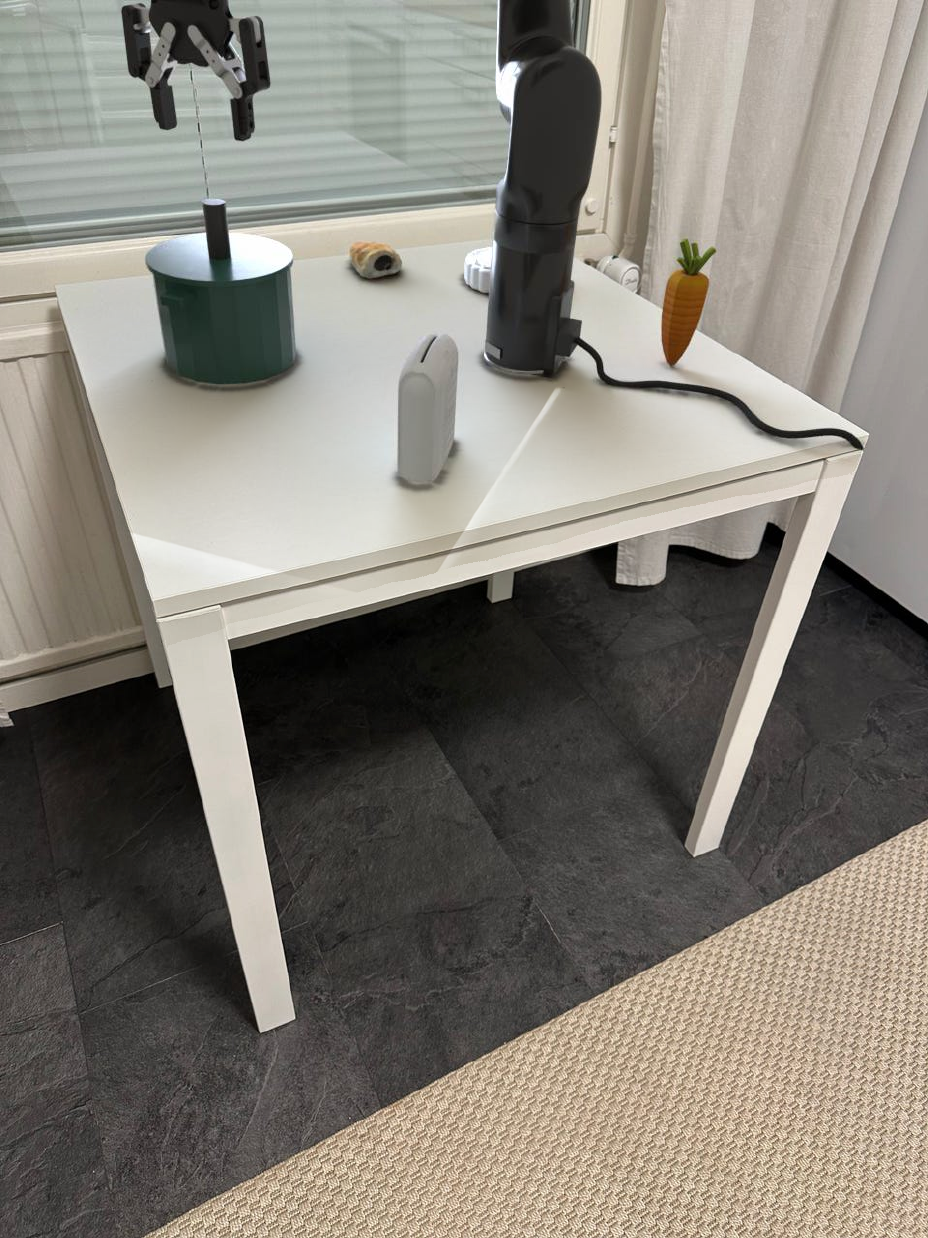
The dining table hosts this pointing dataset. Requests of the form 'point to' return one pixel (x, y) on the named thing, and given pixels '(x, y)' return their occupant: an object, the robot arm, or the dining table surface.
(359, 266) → the pastry
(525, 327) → the robot arm
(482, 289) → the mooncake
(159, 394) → the dining table surface
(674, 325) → the carrot
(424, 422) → the photo printer
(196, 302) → the pot
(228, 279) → the lid
